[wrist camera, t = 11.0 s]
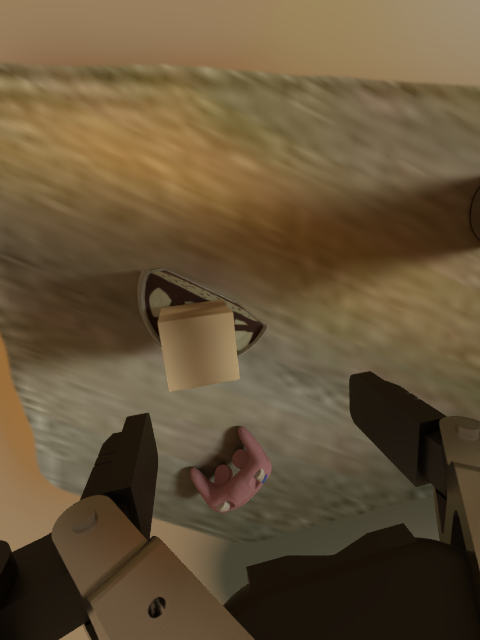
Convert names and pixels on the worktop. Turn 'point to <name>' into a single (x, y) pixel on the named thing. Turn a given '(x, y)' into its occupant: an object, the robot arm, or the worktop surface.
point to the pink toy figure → (244, 484)
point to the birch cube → (198, 344)
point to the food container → (177, 290)
